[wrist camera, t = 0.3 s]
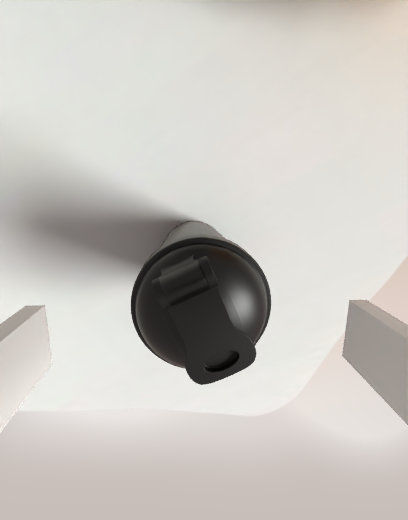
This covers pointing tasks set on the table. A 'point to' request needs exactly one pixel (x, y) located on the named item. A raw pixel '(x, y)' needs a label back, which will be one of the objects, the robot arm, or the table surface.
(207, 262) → the water bottle
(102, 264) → the table surface
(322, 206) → the table surface
